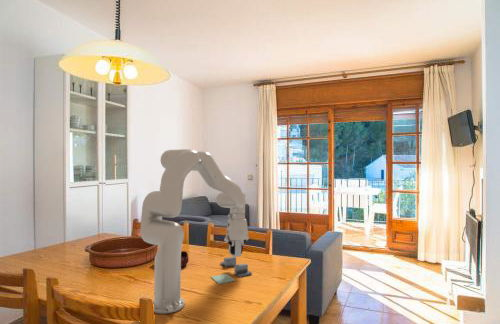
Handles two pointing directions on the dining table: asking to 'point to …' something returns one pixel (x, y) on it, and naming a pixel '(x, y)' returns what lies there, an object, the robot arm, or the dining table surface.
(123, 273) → the dining table surface
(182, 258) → the ashtray
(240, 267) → the vise
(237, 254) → the hook
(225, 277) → the mat
